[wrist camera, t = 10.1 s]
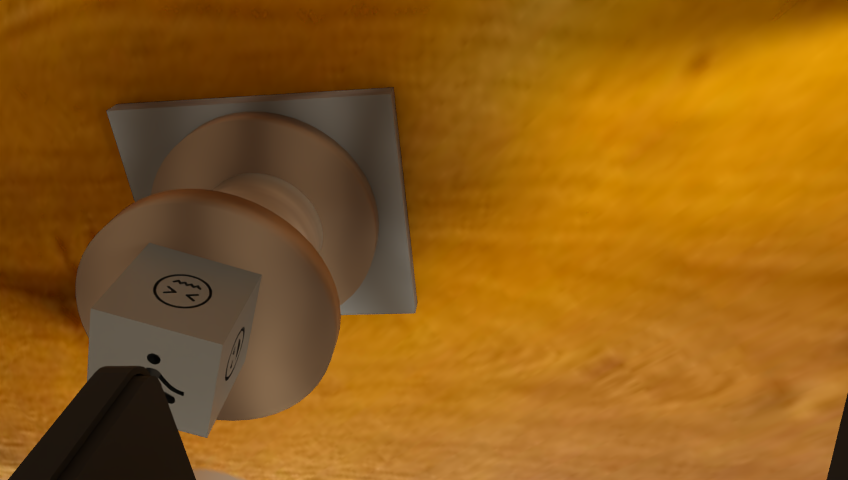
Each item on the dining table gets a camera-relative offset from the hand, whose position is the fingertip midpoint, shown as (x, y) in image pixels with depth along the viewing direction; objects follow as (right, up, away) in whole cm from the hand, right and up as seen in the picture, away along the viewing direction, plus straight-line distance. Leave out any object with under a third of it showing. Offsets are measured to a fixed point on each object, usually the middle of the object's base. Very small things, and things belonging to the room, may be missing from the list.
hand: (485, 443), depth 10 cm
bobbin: (-10, +5, +32) cm, 34 cm away
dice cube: (-11, 0, +22) cm, 25 cm away
